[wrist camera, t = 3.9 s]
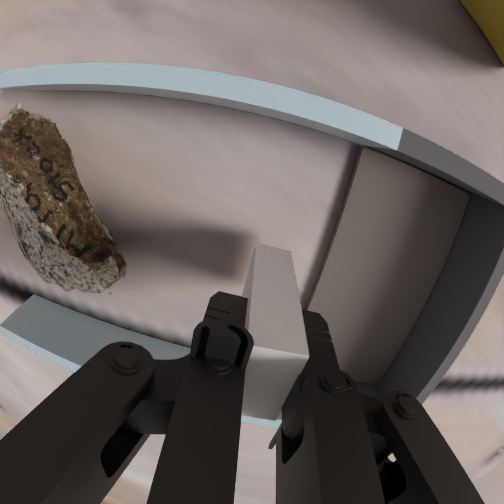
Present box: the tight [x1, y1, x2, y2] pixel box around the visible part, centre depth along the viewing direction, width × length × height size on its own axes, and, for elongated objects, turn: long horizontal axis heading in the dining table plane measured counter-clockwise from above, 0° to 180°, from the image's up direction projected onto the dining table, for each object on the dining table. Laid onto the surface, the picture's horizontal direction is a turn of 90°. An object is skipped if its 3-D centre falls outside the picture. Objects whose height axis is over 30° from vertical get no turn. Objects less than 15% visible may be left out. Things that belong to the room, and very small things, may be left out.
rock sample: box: [0, 103, 126, 294], centre depth 12 cm, size 10×8×9 cm
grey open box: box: [279, 128, 504, 427], centre depth 13 cm, size 8×15×4 cm, turn 166°
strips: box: [0, 63, 403, 428], centre depth 12 cm, size 17×15×4 cm
